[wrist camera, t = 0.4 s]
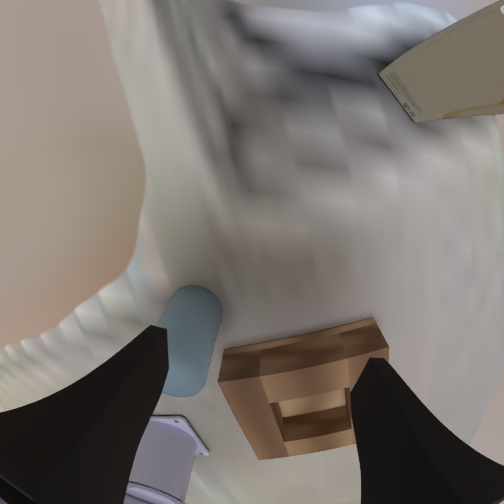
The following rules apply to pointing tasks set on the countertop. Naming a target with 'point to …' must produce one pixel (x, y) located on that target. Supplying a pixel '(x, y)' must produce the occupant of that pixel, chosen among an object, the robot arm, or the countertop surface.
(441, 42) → the skincare box
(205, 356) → the peg
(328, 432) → the walnut holder
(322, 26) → the countertop surface
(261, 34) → the countertop surface
